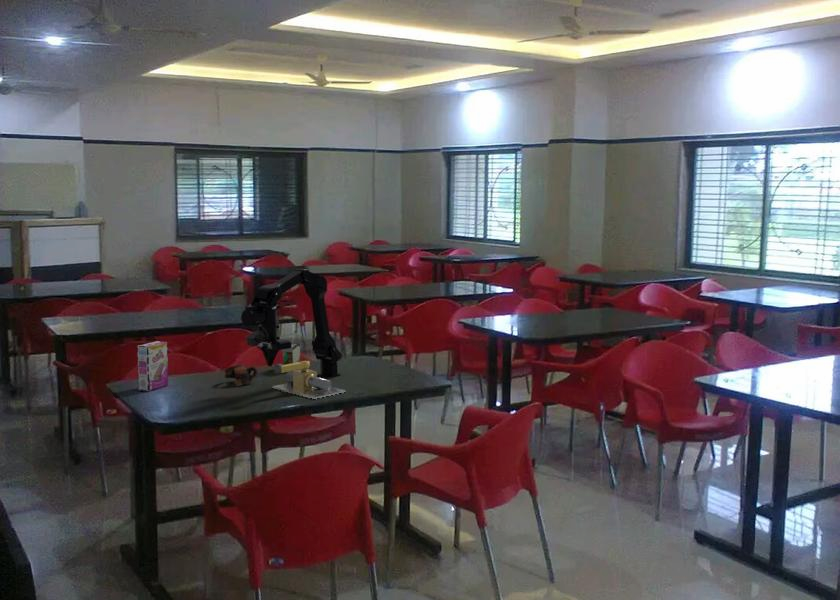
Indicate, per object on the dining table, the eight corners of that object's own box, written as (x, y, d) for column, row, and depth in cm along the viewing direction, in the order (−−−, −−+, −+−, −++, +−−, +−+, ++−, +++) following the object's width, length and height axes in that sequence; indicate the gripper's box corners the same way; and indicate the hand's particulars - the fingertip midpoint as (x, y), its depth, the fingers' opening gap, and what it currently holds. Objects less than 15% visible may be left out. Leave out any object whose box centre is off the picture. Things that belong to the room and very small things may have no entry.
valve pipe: (272, 388, 306) (271, 366, 305) (303, 382, 316) (302, 360, 315) (314, 399, 290) (313, 376, 289) (345, 392, 300) (345, 370, 299)
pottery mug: (229, 389, 308) (222, 368, 310) (229, 395, 317) (222, 374, 319) (261, 378, 311) (254, 357, 313) (260, 384, 320) (253, 364, 322)
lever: (305, 366, 306) (305, 358, 305) (311, 367, 303) (311, 359, 303) (272, 372, 295) (271, 364, 295) (278, 373, 293) (278, 365, 293)
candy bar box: (149, 392, 302) (147, 346, 300) (138, 390, 304) (136, 345, 301) (169, 385, 312) (167, 341, 310) (158, 384, 314) (156, 340, 312)
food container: (286, 365, 346) (285, 341, 345) (301, 365, 346) (300, 341, 344) (277, 371, 334) (276, 346, 333) (292, 372, 333) (291, 347, 332)
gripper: (233, 322, 299) (235, 365, 301) (265, 328, 286) (266, 373, 288) (260, 318, 307) (261, 361, 309) (291, 324, 294) (292, 368, 296)
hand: (269, 366), depth 300 cm, fingers closed
